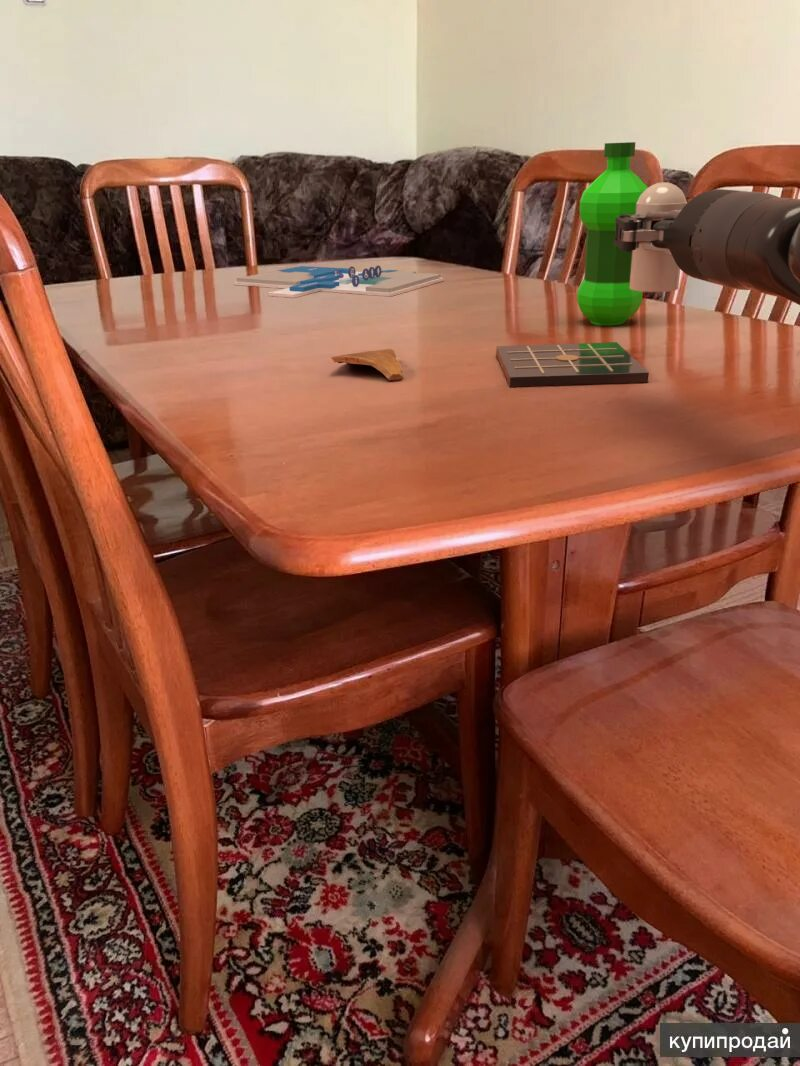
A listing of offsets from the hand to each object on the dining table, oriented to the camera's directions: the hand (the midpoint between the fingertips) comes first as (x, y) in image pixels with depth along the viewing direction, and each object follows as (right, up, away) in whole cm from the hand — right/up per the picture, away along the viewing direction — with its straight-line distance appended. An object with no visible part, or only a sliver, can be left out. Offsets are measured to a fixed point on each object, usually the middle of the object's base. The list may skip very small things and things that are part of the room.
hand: (647, 224), depth 84 cm
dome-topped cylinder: (+1, -6, 0) cm, 7 cm away
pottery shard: (-28, -11, +21) cm, 37 cm away
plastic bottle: (+7, +1, +43) cm, 44 cm away
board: (-4, -11, +19) cm, 22 cm away
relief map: (-40, +20, +87) cm, 97 cm away
